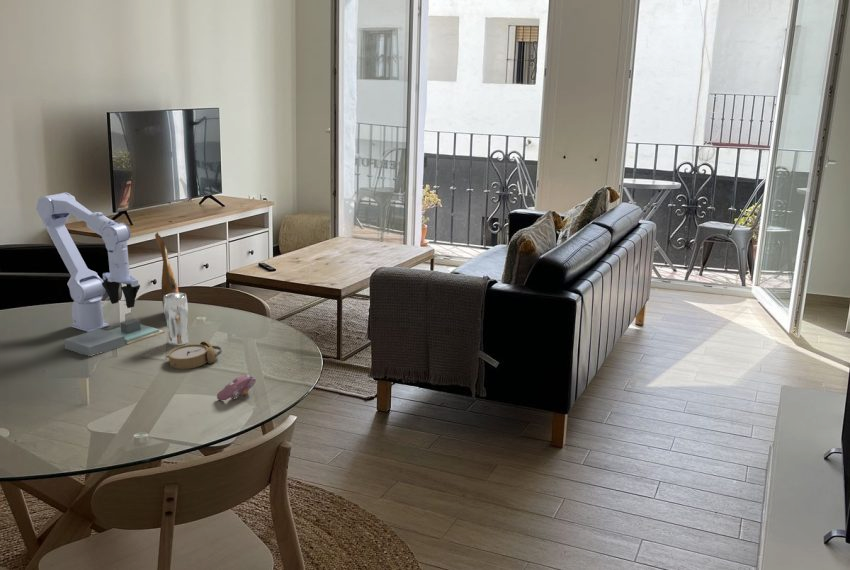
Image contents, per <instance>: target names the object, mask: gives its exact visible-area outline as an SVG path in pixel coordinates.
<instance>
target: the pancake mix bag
mask: <svg viewBox="0 0 850 570" xmlns="http://www.w3.org/2000/svg"><path fill="white" fill-rule="evenodd" d="M154 236H155V237H154V238H155V241H156V242H157V244H158V247H159V249H160V252H161V257H162V270H161V271H162V273H161V301H162V308H163V310H164V295H166V294H169V293H180V291H179V287H178V284H177V281H176V278H175V276H174V272H173V269H172V267H171V262H169V255H168V250H167V247H166V243H165V241H164V239H163V237H162V236H161V235H160V234H159V232H158V231H157V232H156V233H155V235H154Z"/></svg>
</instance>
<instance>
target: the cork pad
mask: <svg viewBox="0 0 850 570" xmlns="http://www.w3.org/2000/svg"><path fill="white" fill-rule="evenodd" d="M165 332H166V331H165V330H161V329H159V332H157V333H154V334H151V335H148V336H145V337H142V338H139V339H136V340H133V341H130V342H125V345H130V344H133V343H137V342H140V341H143V340H145V339H148V338H151V337H154V336H155V337H156V336H157V334H158V335H160V334H164V333H165Z"/></svg>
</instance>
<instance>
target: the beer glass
mask: <svg viewBox="0 0 850 570" xmlns="http://www.w3.org/2000/svg"><path fill="white" fill-rule="evenodd" d="M163 312H164V318H165V322H166V326H167V330H168V341H167V344H168V345H170V346H173V347H174V346H177V347H180V346H184V345H188V343H189V342H190V341H189V336H188V332H187V327H188V326H187V325H188V319H189V318H188V317H189V306H188V298H187V293H185V292H179V293H169V294H166V295H164V309H163Z"/></svg>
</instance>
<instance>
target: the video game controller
mask: <svg viewBox="0 0 850 570" xmlns="http://www.w3.org/2000/svg"><path fill="white" fill-rule="evenodd" d="M256 379H257V378H255V377H253V376H251V375H249V373H247V374H246V375H239V376H237V377H235V378H234V379H233V380H232V381H230V382H229V383H228V384H226V386H225V387H223V389H221V390H220V391H218V393H217V395H216V398H217V400H218V399H219V400H225V401H226V400H228V399H231V400H233V399H234V398H236V397H237V398H238V397H239V396H240V395H241V396H242V395H243V396H245V395H246V394H247V393H248V391H249V390H250V389H252V388H253V387H254V386H255V384H256ZM244 394H245V395H244ZM219 400H218V401H219Z"/></svg>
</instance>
